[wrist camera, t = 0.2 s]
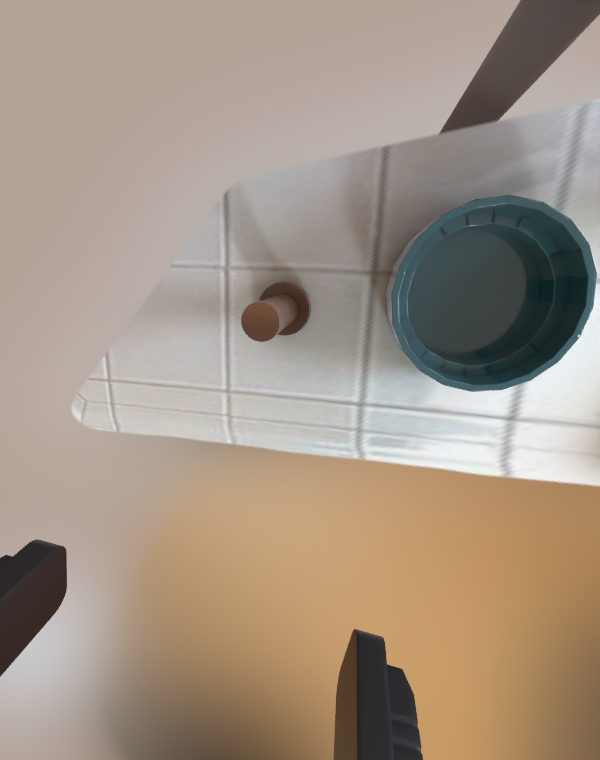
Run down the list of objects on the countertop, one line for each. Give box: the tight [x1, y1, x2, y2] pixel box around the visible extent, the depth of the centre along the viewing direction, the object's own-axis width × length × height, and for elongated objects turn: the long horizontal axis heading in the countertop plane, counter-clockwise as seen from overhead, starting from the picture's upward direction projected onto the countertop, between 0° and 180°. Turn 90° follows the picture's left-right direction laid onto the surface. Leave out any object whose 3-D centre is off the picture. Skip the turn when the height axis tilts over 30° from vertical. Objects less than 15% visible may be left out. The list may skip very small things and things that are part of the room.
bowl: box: [386, 195, 597, 392], centre depth 32 cm, size 15×15×6 cm
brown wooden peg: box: [242, 282, 311, 342], centre depth 33 cm, size 5×5×11 cm
